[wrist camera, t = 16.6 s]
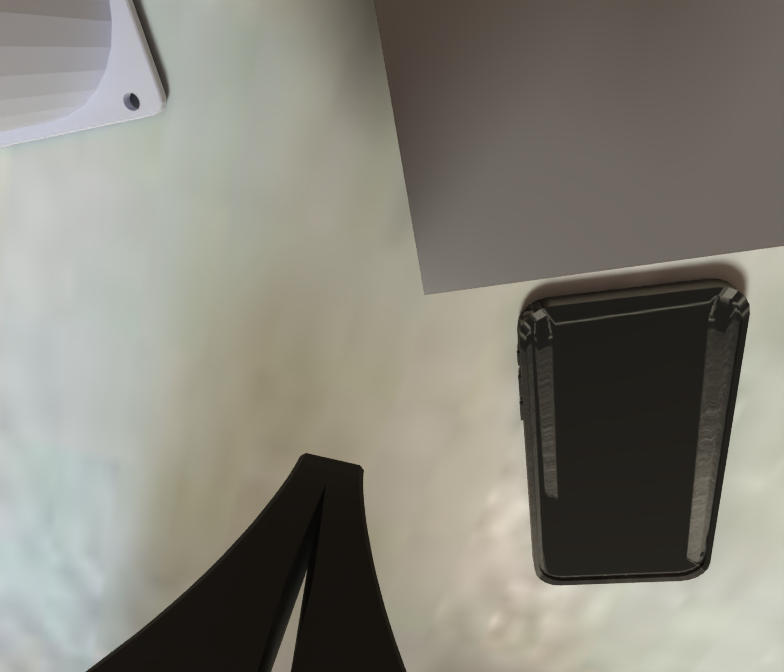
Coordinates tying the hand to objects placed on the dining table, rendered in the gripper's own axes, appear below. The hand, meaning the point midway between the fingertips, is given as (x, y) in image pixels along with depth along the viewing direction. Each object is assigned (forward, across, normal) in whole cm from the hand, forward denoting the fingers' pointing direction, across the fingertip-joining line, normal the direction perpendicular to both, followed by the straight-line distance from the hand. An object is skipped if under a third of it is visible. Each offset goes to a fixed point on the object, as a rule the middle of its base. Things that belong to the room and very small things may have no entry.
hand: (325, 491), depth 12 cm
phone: (+10, -11, +4) cm, 16 cm away
